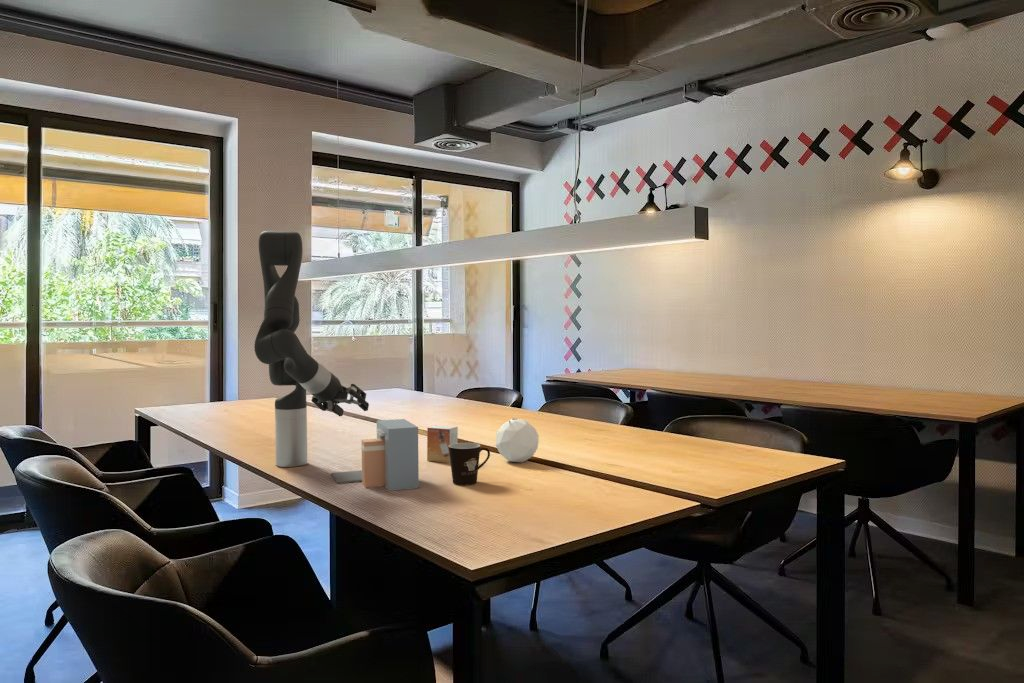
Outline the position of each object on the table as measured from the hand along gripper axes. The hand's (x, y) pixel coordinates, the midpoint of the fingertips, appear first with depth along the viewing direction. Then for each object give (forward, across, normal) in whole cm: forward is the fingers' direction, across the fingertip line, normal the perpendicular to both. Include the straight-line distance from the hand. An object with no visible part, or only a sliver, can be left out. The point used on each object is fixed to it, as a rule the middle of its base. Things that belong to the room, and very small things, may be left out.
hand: (354, 410), depth 201 cm
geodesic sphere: (+45, -29, -2) cm, 54 cm away
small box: (+37, -7, -1) cm, 37 cm away
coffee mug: (+21, -27, +16) cm, 38 cm away
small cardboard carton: (+8, -5, +19) cm, 22 cm away
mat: (+11, +5, +14) cm, 19 cm away
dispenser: (+12, -9, +18) cm, 23 cm away
